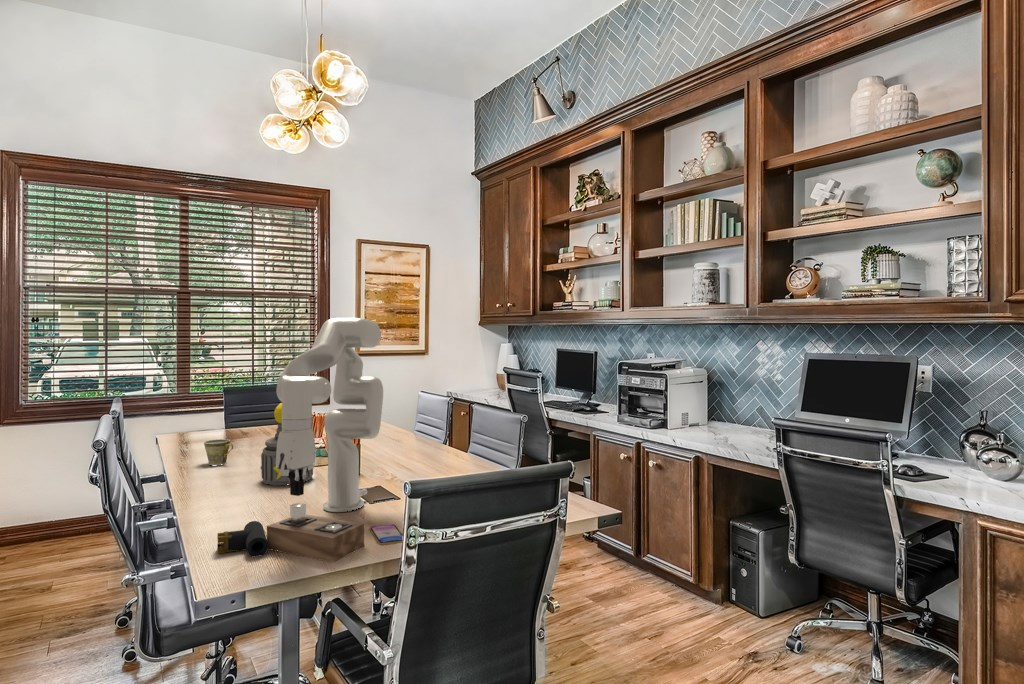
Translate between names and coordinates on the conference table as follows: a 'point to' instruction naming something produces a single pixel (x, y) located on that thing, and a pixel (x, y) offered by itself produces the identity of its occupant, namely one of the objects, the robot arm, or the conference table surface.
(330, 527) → the peg
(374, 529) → the smartphone
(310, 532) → the plunger block
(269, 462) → the grey lightning bolt generator
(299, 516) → the peg
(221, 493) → the conference table surface
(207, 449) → the ceramic cup
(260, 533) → the pipe connector
